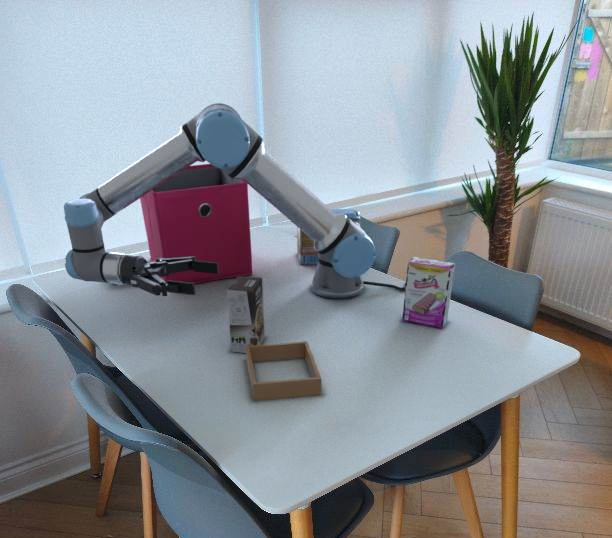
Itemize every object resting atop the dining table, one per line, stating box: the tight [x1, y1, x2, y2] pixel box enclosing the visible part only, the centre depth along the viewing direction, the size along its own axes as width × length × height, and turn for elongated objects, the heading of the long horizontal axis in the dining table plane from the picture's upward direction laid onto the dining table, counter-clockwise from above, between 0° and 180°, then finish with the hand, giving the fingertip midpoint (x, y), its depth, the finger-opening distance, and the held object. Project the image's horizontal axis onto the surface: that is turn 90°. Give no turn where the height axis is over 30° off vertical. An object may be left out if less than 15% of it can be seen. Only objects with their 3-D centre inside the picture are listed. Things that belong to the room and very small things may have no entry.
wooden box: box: [245, 340, 322, 402], centre depth 135 cm, size 15×18×4 cm
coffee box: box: [226, 276, 266, 354], centre depth 145 cm, size 9×6×16 cm
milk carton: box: [296, 226, 318, 266], centre depth 196 cm, size 11×11×19 cm
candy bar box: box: [401, 256, 456, 329], centre depth 155 cm, size 11×5×16 cm, turn 65°
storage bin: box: [139, 163, 254, 285], centre depth 186 cm, size 28×29×28 cm
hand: (206, 278), depth 143 cm, fingers open, 13 cm apart
